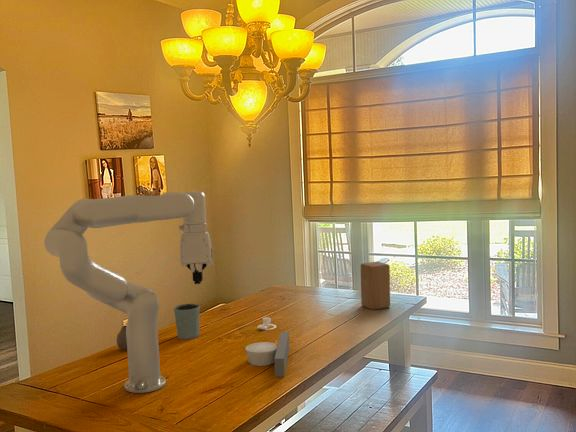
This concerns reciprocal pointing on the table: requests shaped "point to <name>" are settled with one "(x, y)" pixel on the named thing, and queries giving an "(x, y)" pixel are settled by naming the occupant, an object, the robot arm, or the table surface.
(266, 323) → the white ring with peg
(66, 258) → the robot arm
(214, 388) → the table surface
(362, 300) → the wooden block
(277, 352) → the board
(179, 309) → the blue-grey plant pot
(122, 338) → the vase
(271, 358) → the ramekin
